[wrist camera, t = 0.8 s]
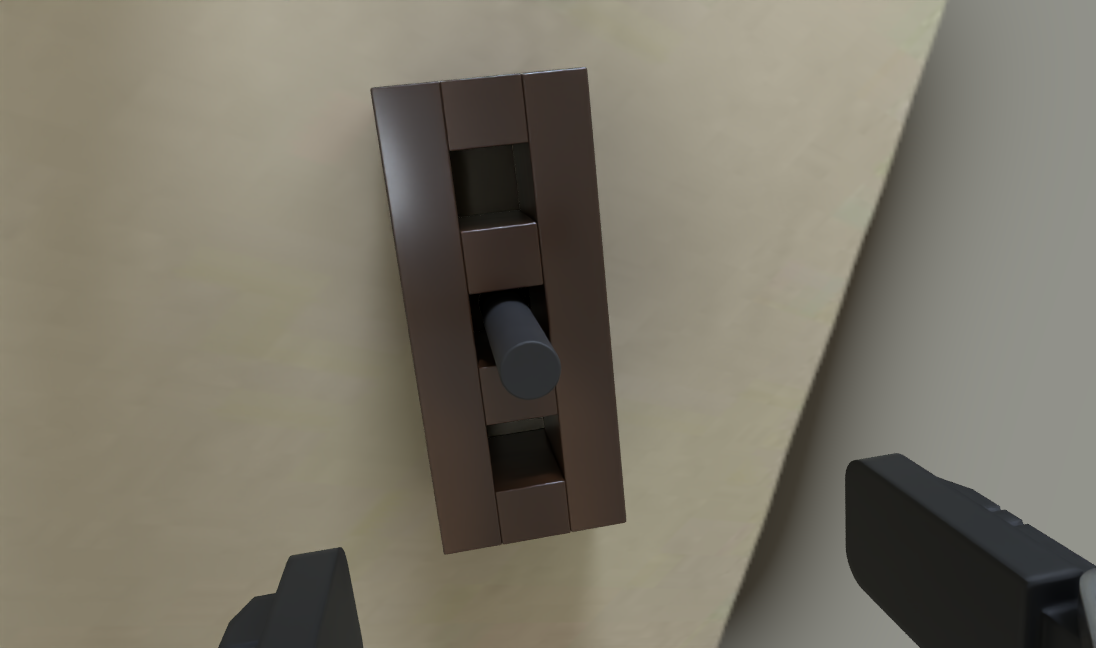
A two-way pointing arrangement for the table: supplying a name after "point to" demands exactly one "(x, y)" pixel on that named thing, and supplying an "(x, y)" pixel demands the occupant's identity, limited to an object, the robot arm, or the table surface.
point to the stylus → (519, 345)
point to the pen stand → (493, 265)
